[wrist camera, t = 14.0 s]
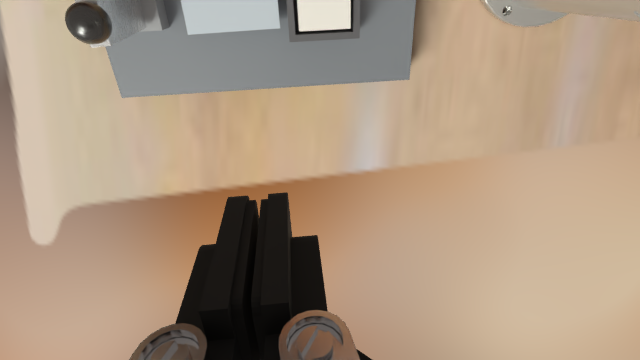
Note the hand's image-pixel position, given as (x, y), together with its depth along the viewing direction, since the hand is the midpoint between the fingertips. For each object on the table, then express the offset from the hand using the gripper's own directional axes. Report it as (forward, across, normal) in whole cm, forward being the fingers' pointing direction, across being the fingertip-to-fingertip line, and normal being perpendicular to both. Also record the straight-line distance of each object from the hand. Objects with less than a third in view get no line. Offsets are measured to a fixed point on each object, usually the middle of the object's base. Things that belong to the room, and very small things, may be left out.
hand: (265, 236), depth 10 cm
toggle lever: (+22, +10, -5) cm, 25 cm away
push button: (+24, -4, -5) cm, 24 cm away
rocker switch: (+22, +3, -5) cm, 23 cm away
